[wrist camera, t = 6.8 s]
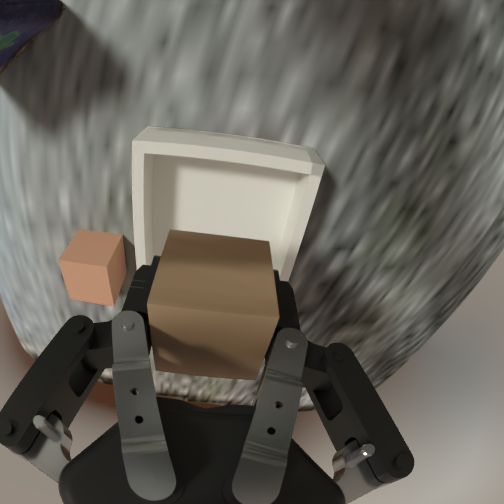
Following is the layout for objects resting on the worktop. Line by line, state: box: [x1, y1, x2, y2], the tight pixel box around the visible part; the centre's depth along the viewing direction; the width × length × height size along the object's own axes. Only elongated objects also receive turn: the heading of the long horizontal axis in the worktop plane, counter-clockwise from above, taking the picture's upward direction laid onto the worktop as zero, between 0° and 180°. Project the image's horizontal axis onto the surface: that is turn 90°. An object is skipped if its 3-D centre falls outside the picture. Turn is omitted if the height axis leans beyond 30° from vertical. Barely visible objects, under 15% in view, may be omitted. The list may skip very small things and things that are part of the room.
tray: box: [132, 126, 325, 282], centre depth 23 cm, size 15×12×4 cm
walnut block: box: [147, 229, 279, 380], centre depth 13 cm, size 4×4×4 cm
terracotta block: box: [59, 230, 127, 306], centre depth 24 cm, size 4×4×4 cm
